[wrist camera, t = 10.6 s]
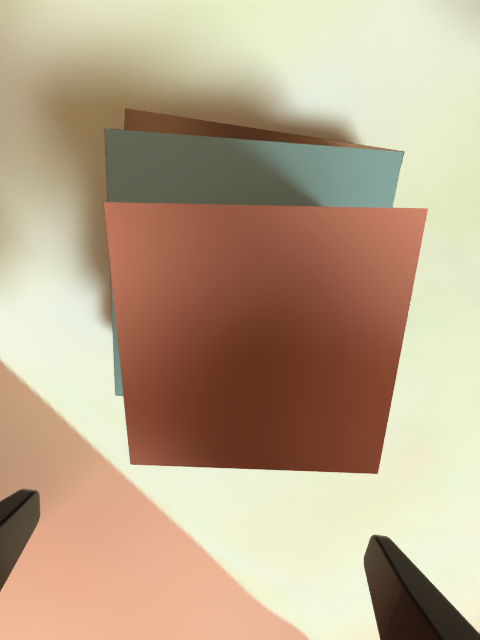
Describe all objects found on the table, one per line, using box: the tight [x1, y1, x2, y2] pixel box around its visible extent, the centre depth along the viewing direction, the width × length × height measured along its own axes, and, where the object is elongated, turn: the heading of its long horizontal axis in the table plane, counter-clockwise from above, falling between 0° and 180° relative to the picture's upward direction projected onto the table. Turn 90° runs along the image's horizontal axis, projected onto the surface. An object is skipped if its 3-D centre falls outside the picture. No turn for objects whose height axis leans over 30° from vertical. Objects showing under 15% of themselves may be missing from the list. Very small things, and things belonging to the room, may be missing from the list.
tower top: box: [104, 128, 403, 396], centre depth 11 cm, size 8×8×3 cm
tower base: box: [124, 109, 404, 163], centre depth 13 cm, size 10×10×3 cm
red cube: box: [104, 202, 428, 474], centre depth 7 cm, size 4×4×4 cm
